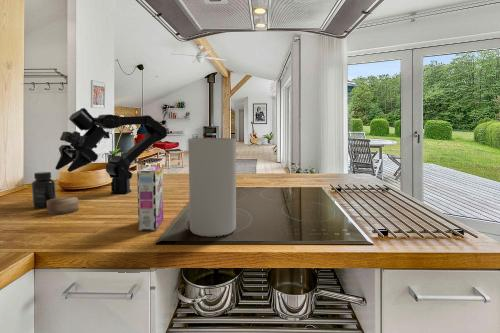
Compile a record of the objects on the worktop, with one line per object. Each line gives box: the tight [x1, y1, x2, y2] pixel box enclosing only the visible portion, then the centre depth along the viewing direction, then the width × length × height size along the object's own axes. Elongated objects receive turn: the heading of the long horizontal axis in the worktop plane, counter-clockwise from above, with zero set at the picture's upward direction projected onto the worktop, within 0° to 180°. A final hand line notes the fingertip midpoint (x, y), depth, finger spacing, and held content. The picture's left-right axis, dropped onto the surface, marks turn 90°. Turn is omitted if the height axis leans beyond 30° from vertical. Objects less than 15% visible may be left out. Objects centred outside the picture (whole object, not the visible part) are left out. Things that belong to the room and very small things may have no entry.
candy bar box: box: [136, 166, 164, 232], centre depth 89 cm, size 11×5×16 cm, turn 5°
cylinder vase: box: [187, 137, 237, 238], centre depth 85 cm, size 12×12×25 cm
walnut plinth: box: [46, 196, 80, 216], centre depth 104 cm, size 9×9×4 cm
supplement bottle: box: [31, 171, 57, 209], centre depth 110 cm, size 7×7×12 cm
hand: (62, 170), depth 114 cm, fingers open, 9 cm apart
